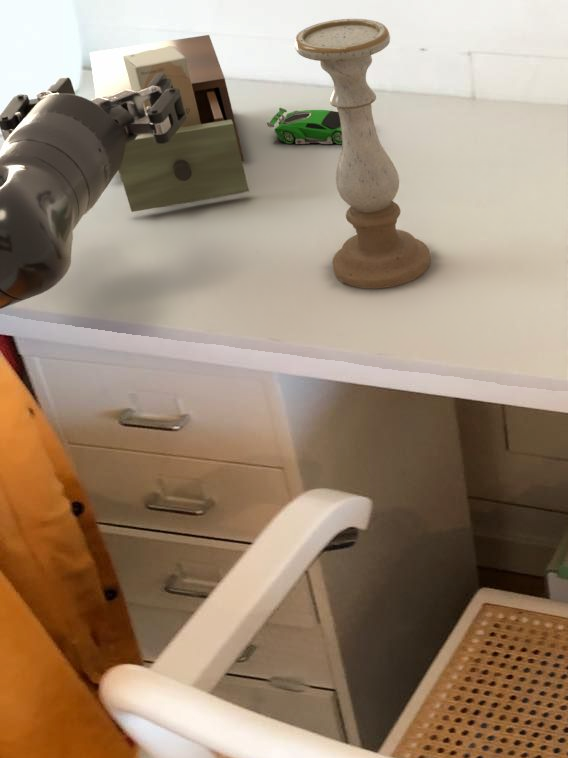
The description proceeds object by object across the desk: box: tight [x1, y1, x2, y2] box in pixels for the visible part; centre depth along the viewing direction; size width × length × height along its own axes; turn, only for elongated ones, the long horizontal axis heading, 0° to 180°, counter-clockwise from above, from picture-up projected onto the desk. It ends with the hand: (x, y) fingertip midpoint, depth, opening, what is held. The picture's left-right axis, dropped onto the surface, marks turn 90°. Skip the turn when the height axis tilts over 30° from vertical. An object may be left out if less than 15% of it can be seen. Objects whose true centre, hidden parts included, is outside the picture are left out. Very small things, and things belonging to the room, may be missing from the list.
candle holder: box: [294, 18, 431, 289], centre depth 111 cm, size 9×9×20 cm
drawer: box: [118, 88, 250, 213], centre depth 130 cm, size 15×11×7 cm
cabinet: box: [89, 34, 245, 182], centre depth 138 cm, size 15×13×9 cm
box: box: [123, 46, 201, 128], centre depth 127 cm, size 5×4×11 cm
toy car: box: [266, 107, 342, 145], centre depth 140 cm, size 10×5×2 cm, turn 82°
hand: (117, 86), depth 115 cm, fingers open, 8 cm apart
